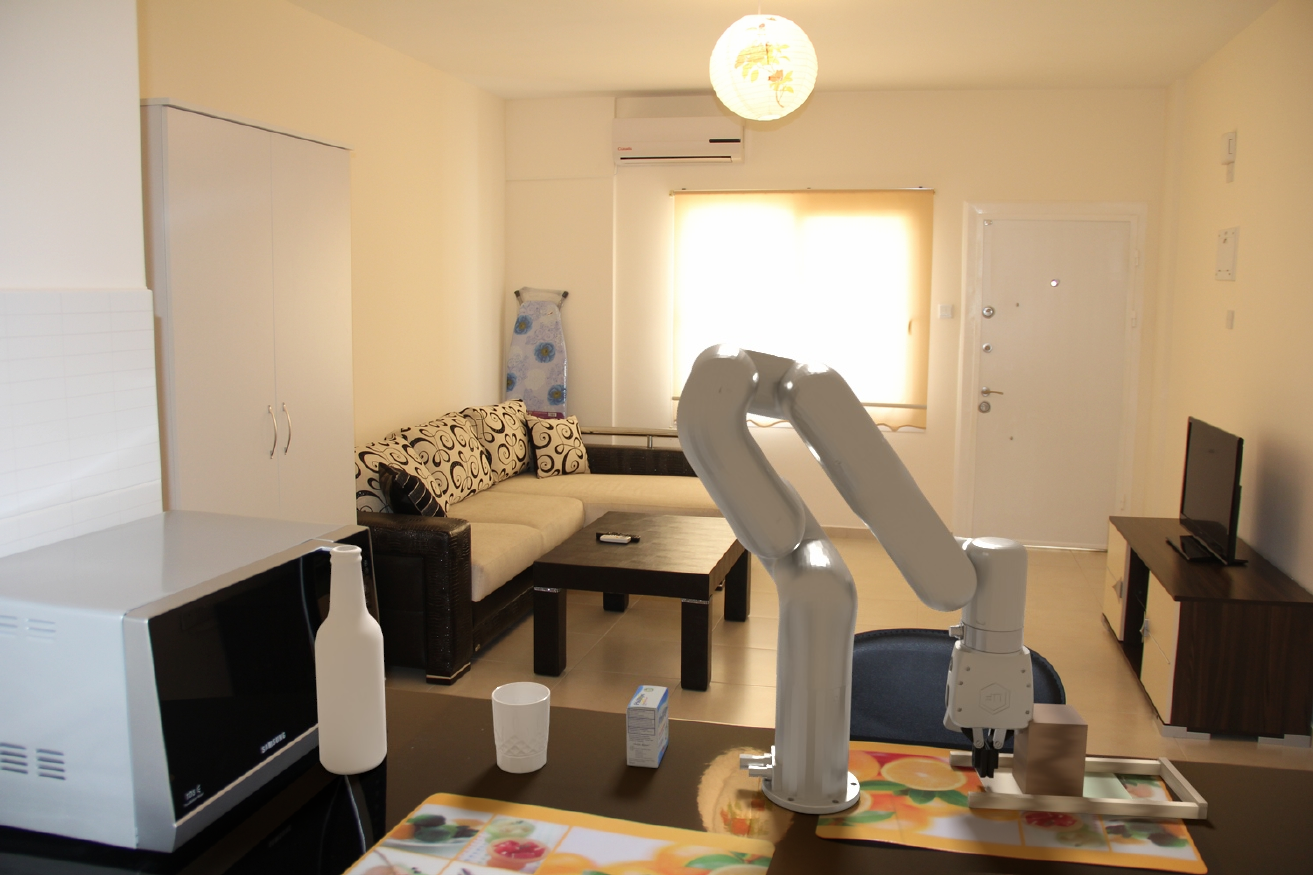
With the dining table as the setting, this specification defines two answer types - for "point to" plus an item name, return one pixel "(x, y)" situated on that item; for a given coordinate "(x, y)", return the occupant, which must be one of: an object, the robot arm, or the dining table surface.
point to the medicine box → (647, 726)
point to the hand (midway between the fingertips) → (984, 772)
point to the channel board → (1089, 790)
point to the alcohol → (350, 673)
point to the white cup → (521, 726)
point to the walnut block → (1051, 752)
